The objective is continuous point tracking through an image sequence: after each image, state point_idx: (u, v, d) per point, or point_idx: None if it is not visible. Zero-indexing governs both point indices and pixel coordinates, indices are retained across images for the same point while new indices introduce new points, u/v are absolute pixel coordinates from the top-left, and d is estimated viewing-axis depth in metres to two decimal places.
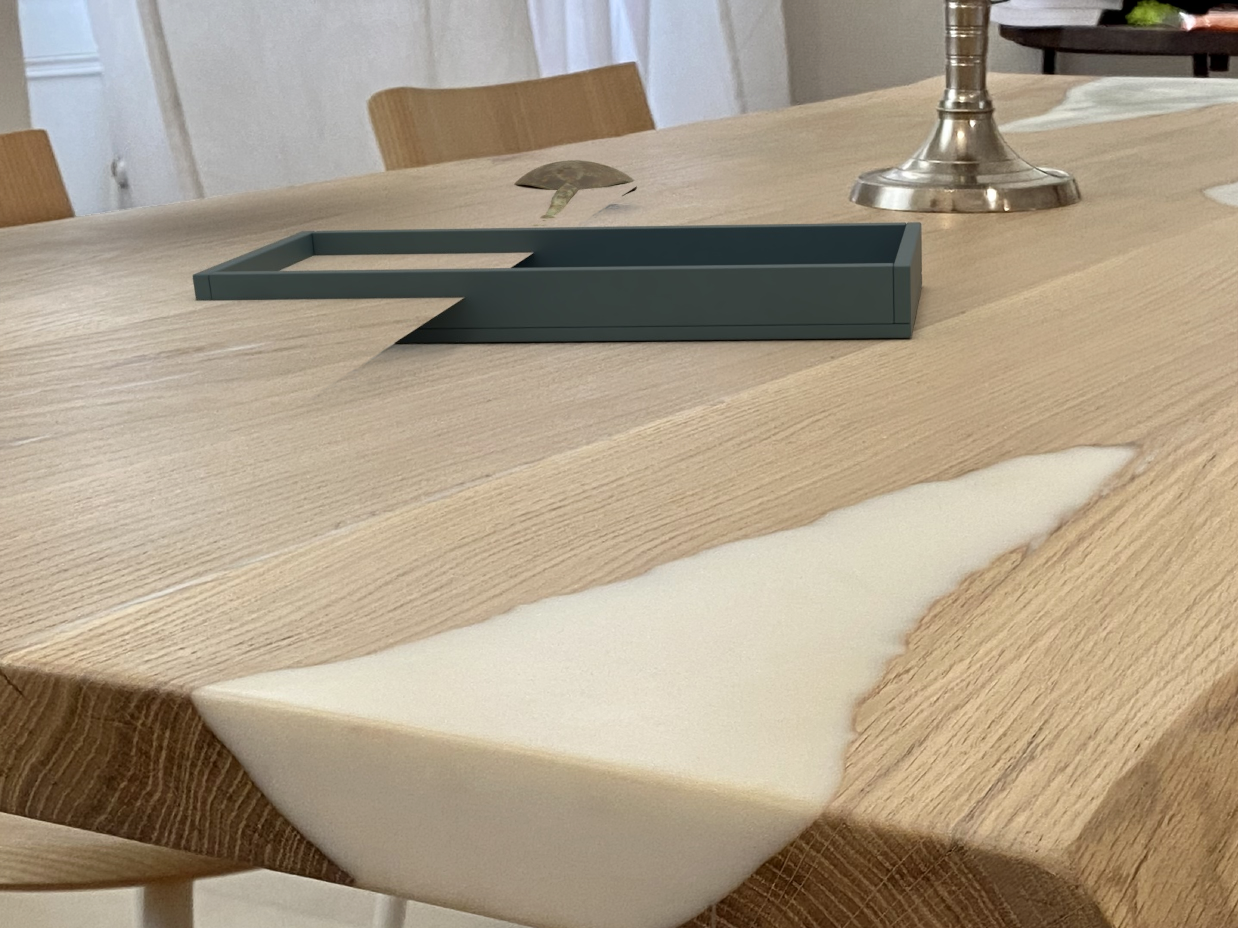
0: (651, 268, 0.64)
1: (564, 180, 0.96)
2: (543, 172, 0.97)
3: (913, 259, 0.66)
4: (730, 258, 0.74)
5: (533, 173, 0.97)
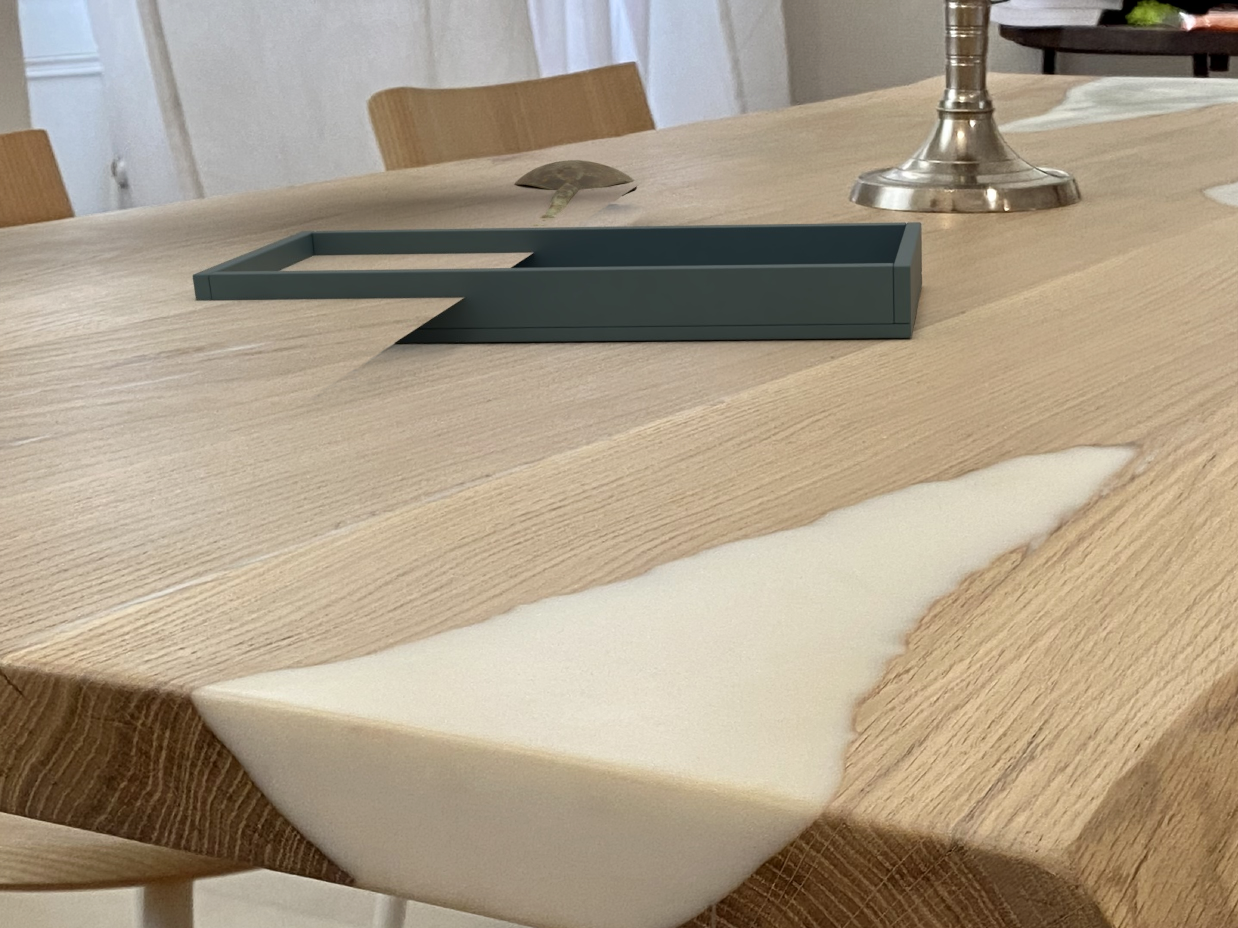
0: (651, 268, 0.64)
1: (564, 180, 0.96)
2: (543, 172, 0.97)
3: (913, 259, 0.66)
4: (730, 258, 0.74)
5: (533, 173, 0.97)
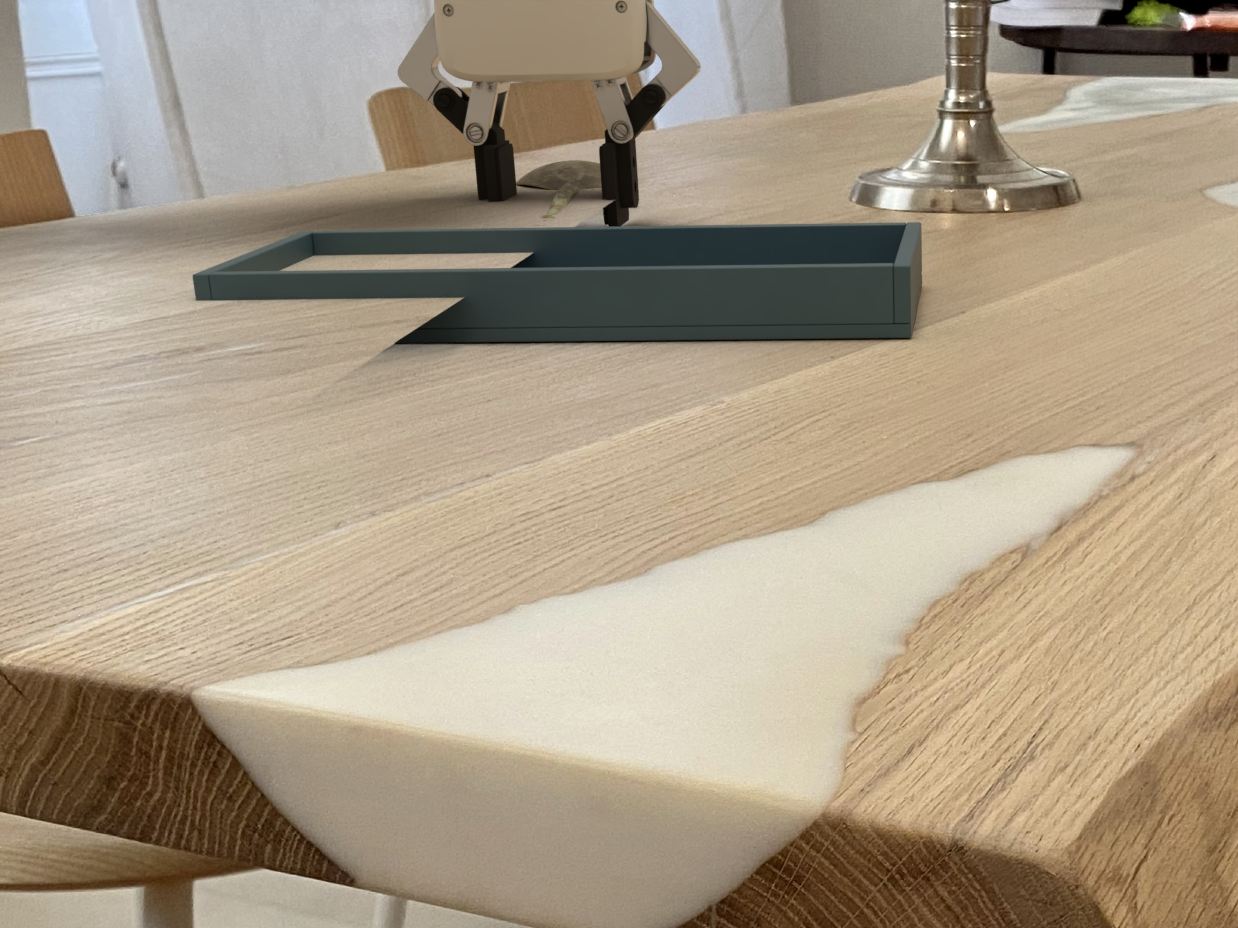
0: (651, 268, 0.64)
1: (565, 180, 0.96)
2: (544, 172, 0.97)
3: (913, 259, 0.66)
4: (730, 258, 0.74)
5: (534, 173, 0.97)
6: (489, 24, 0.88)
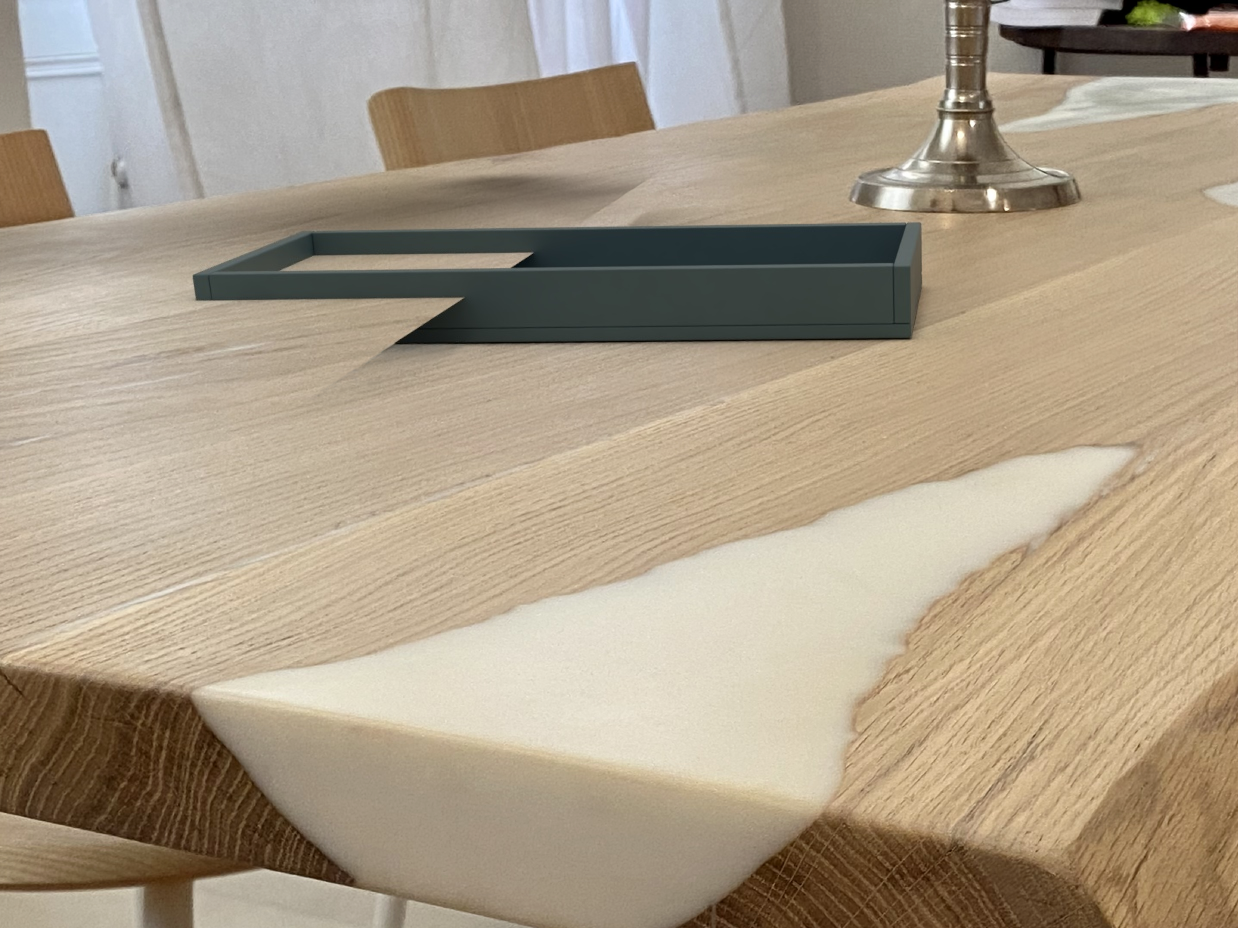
0: (651, 268, 0.64)
1: None
2: None
3: (913, 259, 0.66)
4: (730, 258, 0.74)
5: None
6: None
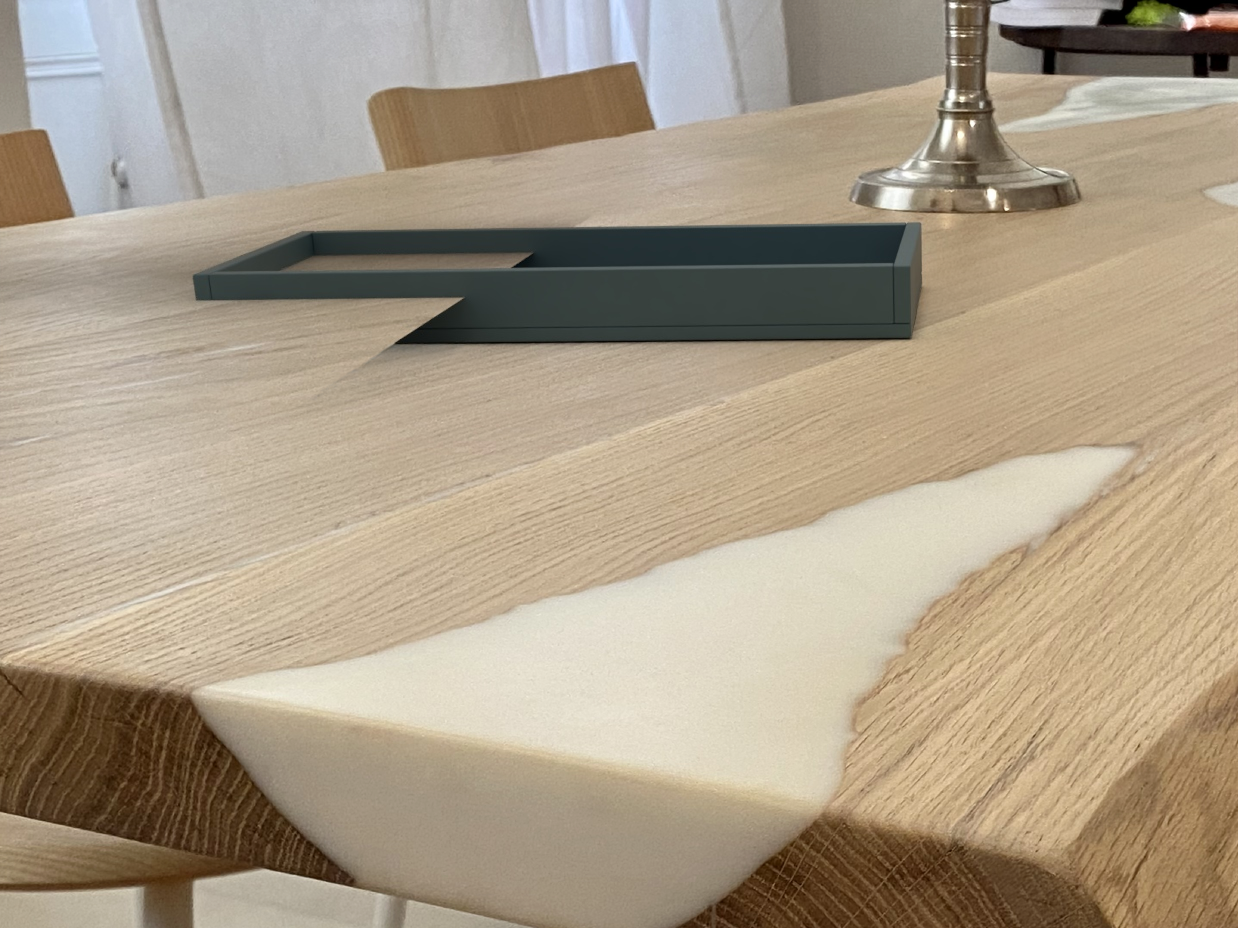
0: (651, 268, 0.64)
1: None
2: None
3: (913, 259, 0.66)
4: (730, 258, 0.74)
5: None
6: None
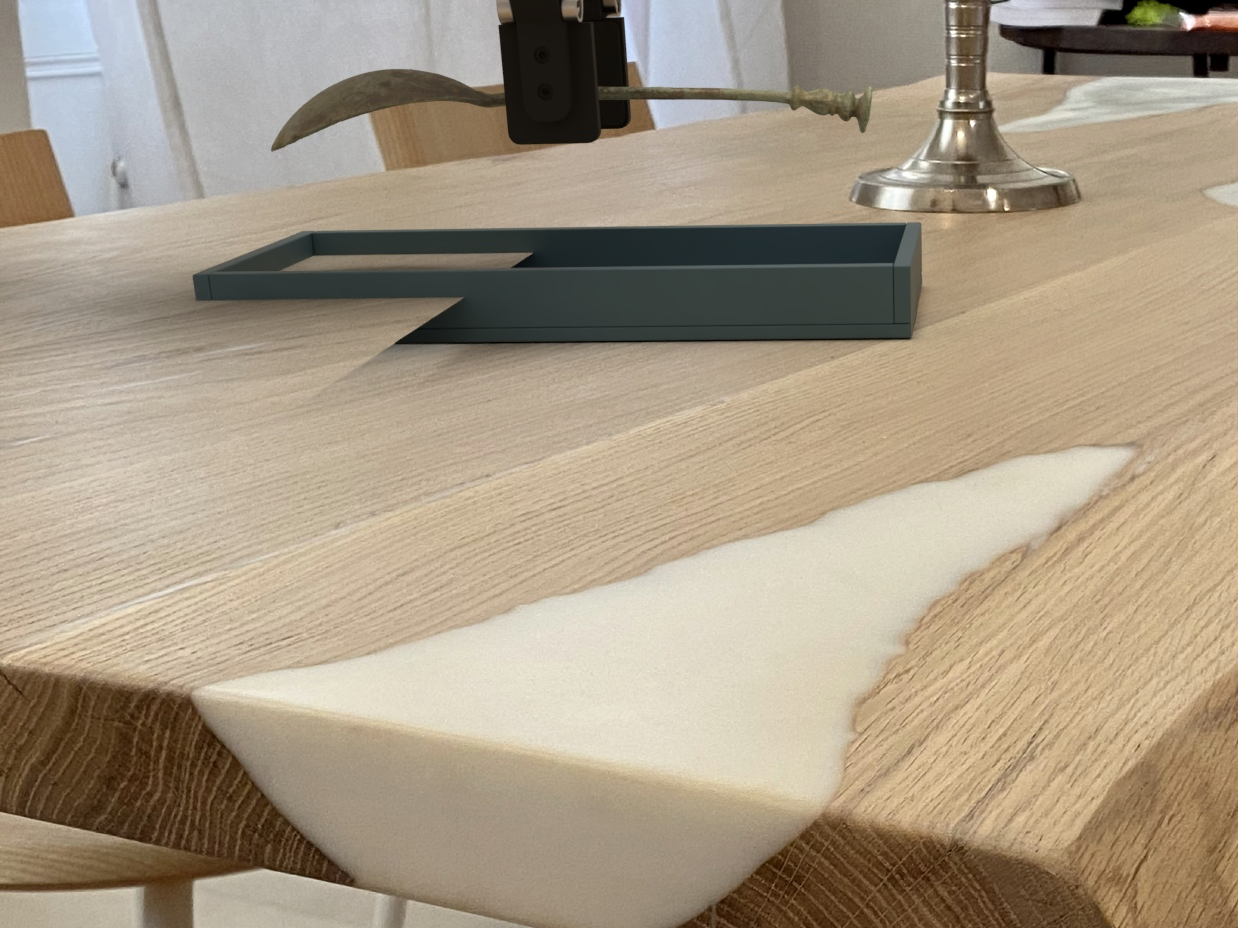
0: (651, 268, 0.64)
1: (468, 87, 0.67)
2: (428, 82, 0.66)
3: (913, 259, 0.66)
4: (730, 258, 0.74)
5: (414, 85, 0.66)
6: None
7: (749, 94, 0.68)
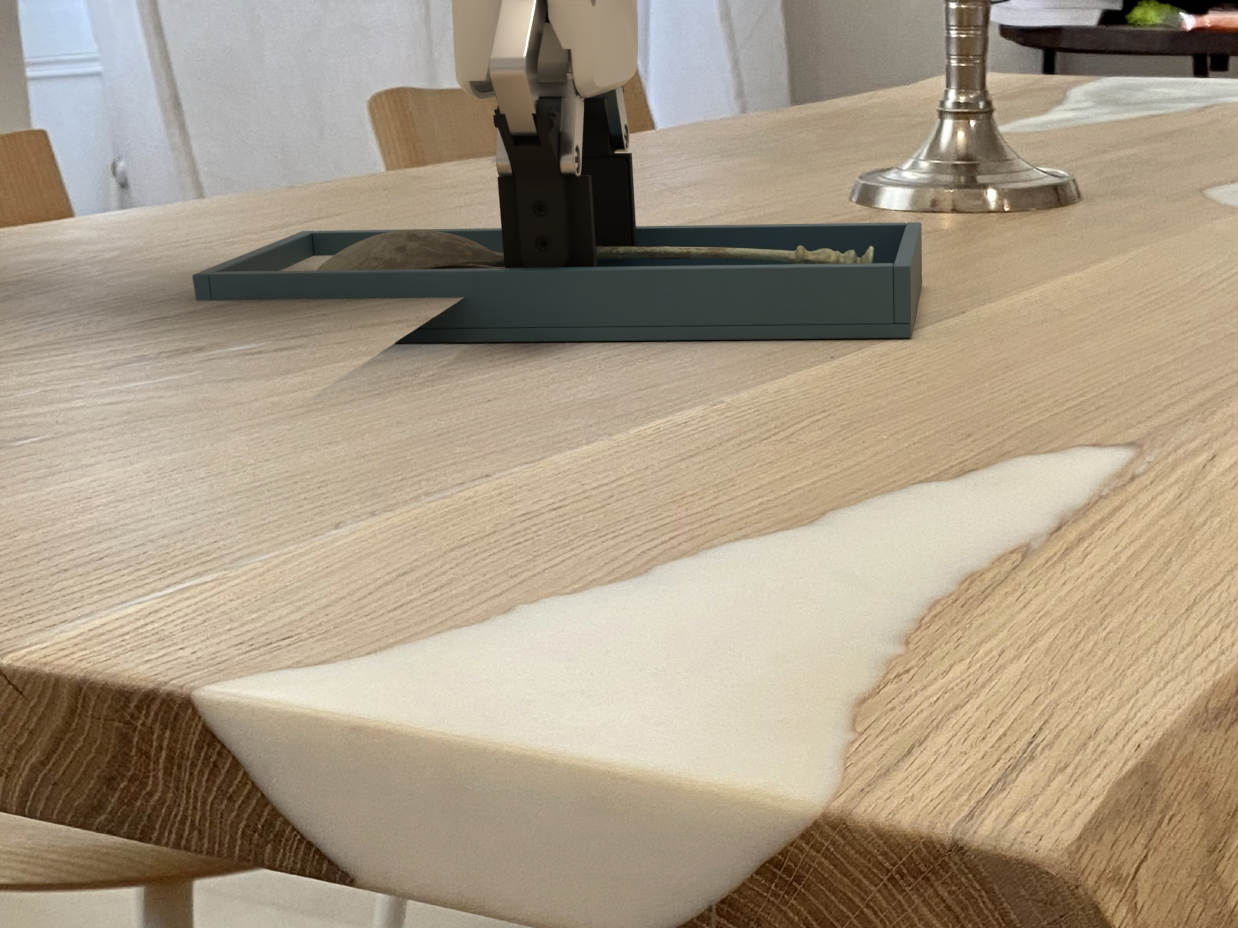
0: (651, 268, 0.64)
1: (481, 248, 0.69)
2: (443, 245, 0.68)
3: (913, 259, 0.66)
4: None
5: (429, 250, 0.68)
6: (609, 16, 0.65)
7: (754, 254, 0.70)
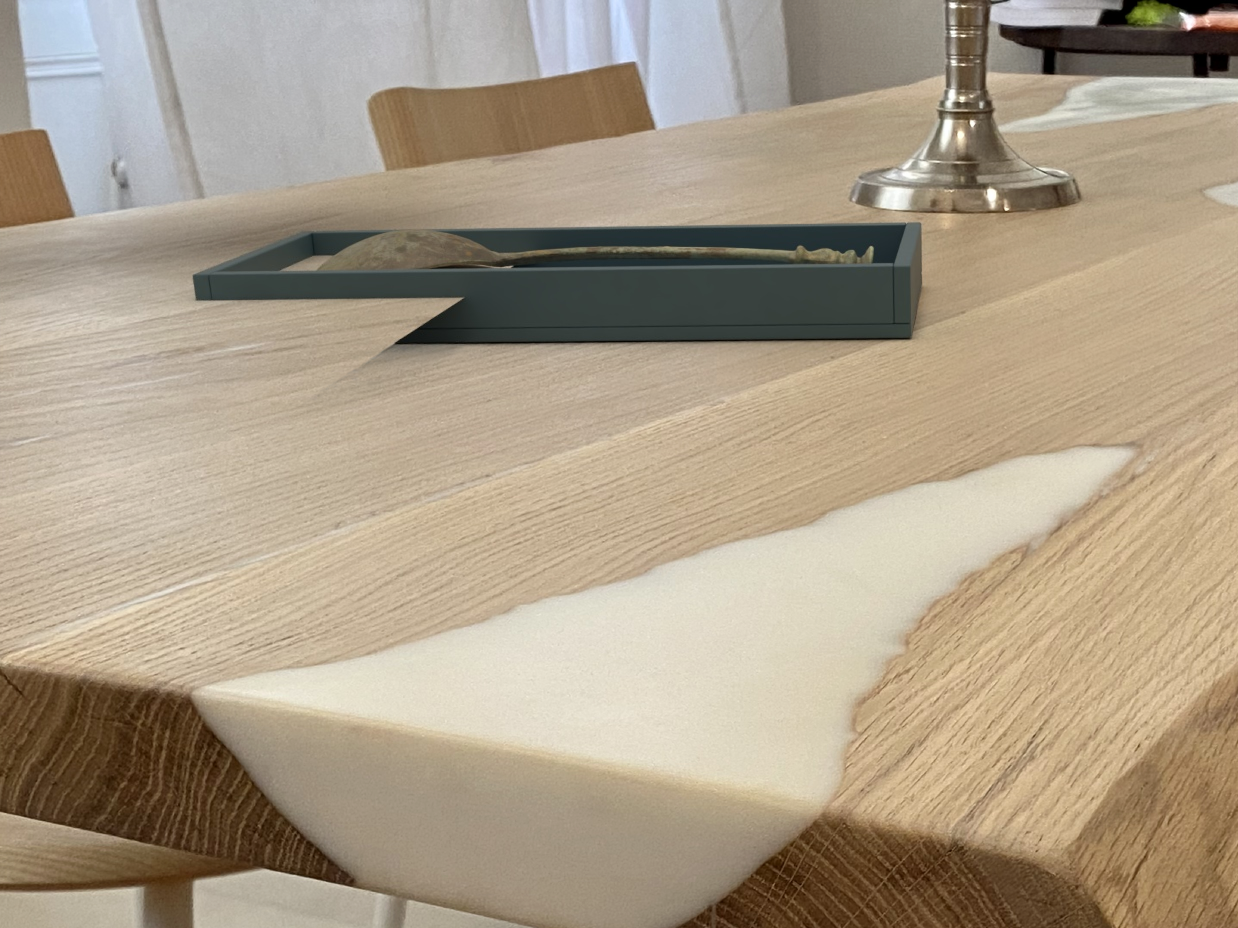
0: (651, 268, 0.64)
1: (481, 248, 0.69)
2: (443, 246, 0.68)
3: (913, 259, 0.66)
4: None
5: (429, 250, 0.68)
6: None
7: (754, 254, 0.70)
